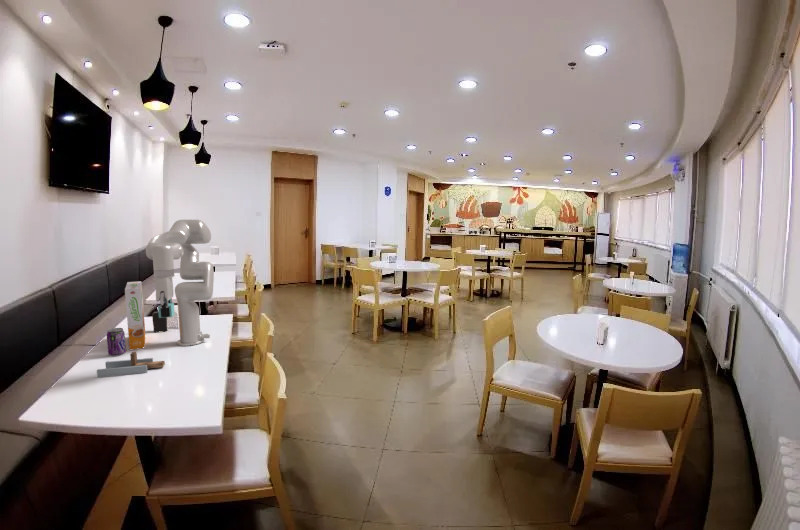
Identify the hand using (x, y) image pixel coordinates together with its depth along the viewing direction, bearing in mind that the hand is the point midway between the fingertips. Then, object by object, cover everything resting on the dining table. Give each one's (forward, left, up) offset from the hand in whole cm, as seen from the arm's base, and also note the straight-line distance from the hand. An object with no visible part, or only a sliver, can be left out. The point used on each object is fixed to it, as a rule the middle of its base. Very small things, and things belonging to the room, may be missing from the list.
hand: (167, 314), depth 182 cm
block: (0, 0, -1) cm, 1 cm away
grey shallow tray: (+17, 0, -23) cm, 29 cm away
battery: (+18, -60, -24) cm, 67 cm away
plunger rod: (+9, 0, -23) cm, 25 cm away
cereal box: (+24, -41, -24) cm, 53 cm away
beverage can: (+28, -24, -24) cm, 44 cm away
